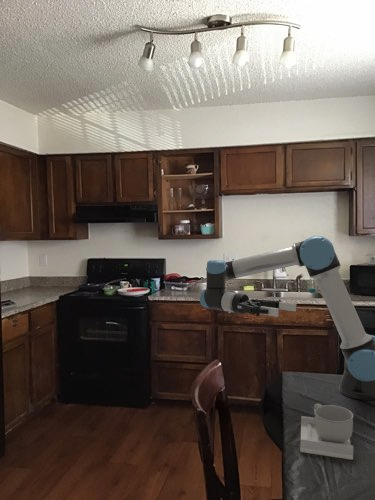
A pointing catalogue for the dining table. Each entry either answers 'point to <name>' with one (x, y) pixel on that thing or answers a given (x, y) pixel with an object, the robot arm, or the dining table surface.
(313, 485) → the dining table surface
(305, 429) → the drying rack
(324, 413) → the teacup
